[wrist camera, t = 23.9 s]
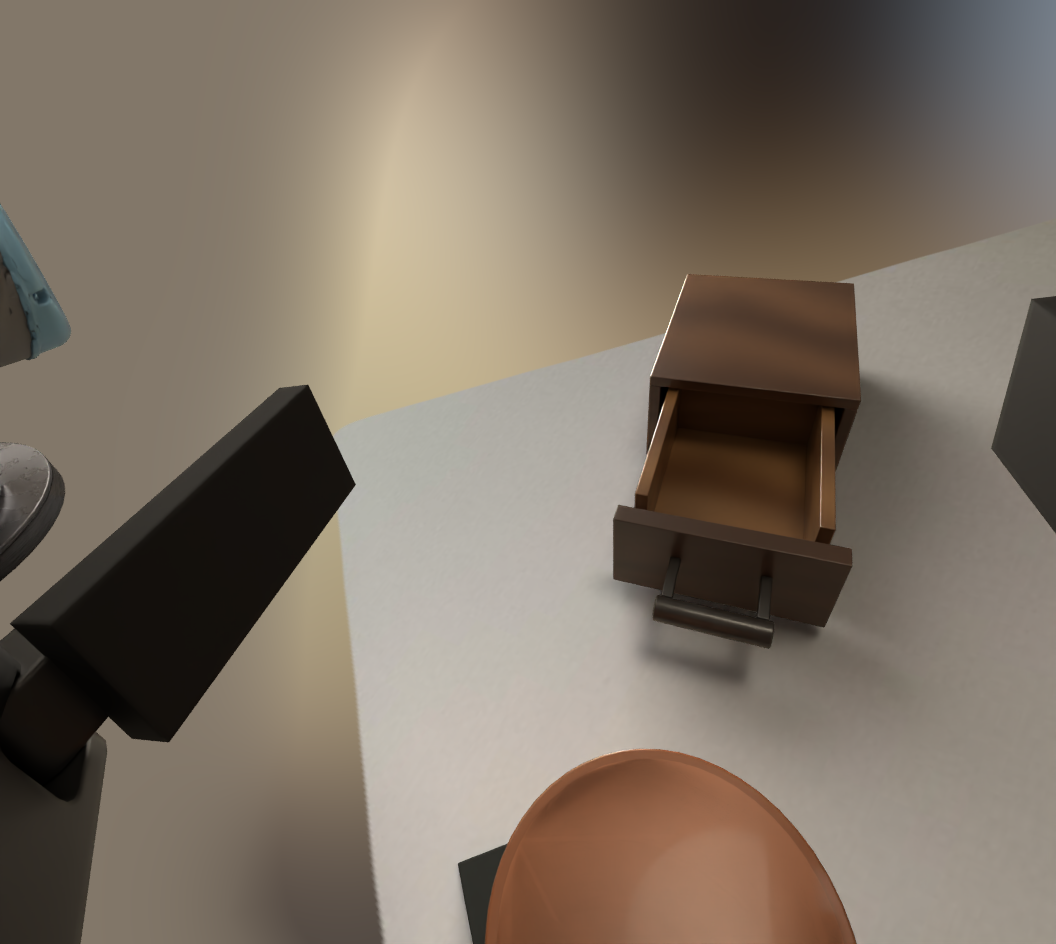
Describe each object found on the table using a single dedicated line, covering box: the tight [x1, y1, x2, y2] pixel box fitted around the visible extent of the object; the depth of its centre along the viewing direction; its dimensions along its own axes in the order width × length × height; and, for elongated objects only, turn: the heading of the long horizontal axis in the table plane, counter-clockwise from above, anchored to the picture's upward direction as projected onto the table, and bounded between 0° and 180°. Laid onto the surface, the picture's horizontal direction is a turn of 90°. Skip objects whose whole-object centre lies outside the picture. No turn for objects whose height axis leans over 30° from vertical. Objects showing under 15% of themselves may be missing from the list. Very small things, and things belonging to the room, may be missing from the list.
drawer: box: [613, 387, 852, 649], centre depth 37 cm, size 20×12×6 cm, turn 160°
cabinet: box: [646, 274, 861, 472], centre depth 48 cm, size 17×14×8 cm
